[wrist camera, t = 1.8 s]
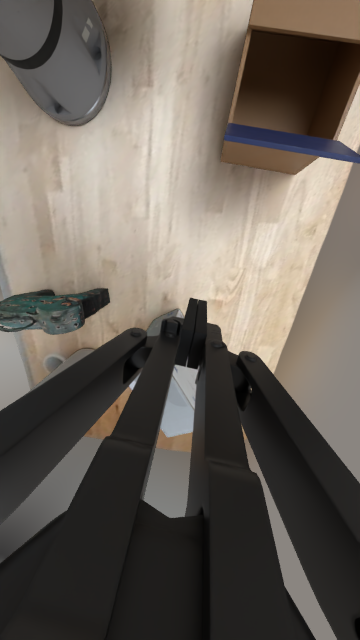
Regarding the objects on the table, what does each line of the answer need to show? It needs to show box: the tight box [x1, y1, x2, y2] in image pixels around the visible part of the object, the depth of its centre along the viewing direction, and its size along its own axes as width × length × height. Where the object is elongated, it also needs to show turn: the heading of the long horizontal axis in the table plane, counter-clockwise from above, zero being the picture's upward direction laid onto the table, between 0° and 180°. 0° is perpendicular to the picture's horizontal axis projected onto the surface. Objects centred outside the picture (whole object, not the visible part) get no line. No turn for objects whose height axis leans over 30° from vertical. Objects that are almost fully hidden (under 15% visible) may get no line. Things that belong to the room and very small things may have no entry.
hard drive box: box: [129, 309, 199, 437], centre depth 38 cm, size 16×8×20 cm, turn 27°
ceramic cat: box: [0, 288, 110, 335], centre depth 37 cm, size 20×6×20 cm, turn 91°
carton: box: [220, 0, 360, 175], centre depth 24 cm, size 15×13×11 cm
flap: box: [224, 123, 360, 163], centre depth 19 cm, size 7×13×1 cm
